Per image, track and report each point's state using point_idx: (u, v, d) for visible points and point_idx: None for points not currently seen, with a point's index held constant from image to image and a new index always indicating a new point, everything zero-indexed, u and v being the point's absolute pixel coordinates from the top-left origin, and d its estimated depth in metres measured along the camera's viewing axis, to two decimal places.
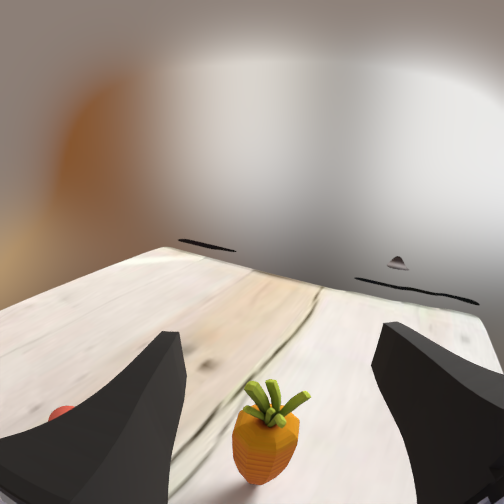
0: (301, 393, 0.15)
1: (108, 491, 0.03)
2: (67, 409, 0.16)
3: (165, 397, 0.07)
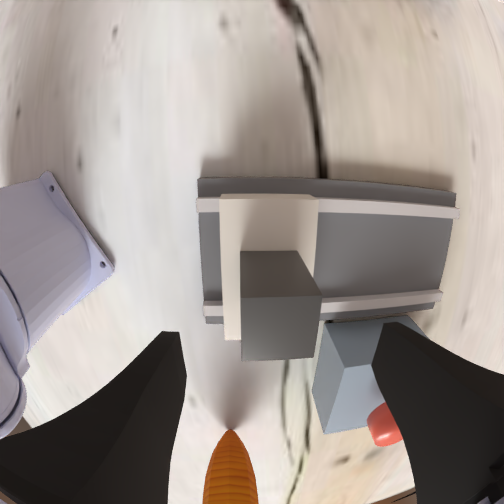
0: None
1: (108, 491, 0.03)
2: None
3: (165, 397, 0.07)
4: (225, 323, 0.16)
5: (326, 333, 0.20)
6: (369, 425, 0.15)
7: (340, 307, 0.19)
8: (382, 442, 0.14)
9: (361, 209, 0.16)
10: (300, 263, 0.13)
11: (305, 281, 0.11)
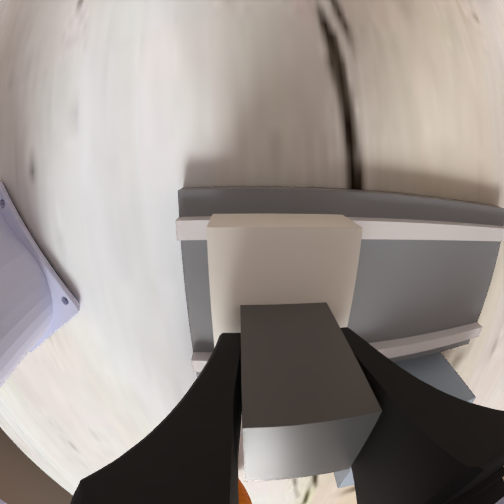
0: None
1: None
2: None
3: (238, 400, 0.07)
4: None
5: None
6: None
7: None
8: None
9: (407, 234, 0.11)
10: (335, 332, 0.08)
11: (350, 377, 0.06)
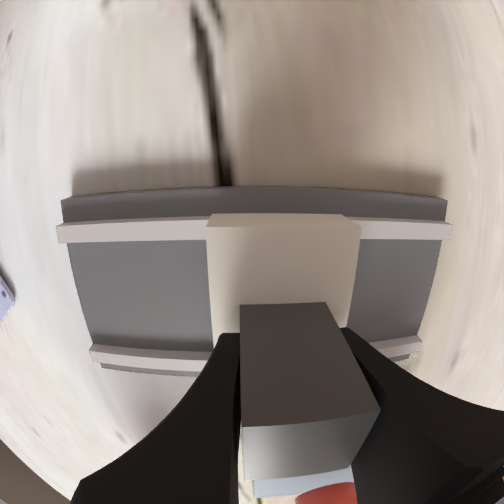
0: None
1: None
2: None
3: (238, 400, 0.07)
4: None
5: None
6: None
7: None
8: None
9: None
10: (334, 332, 0.08)
11: (349, 376, 0.06)
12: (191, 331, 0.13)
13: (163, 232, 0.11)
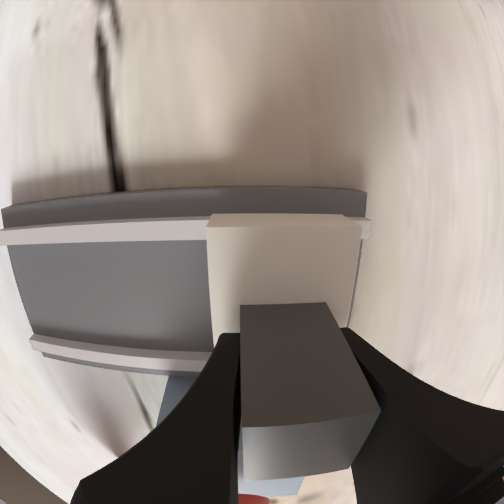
0: None
1: None
2: None
3: (238, 400, 0.07)
4: None
5: None
6: None
7: (162, 365, 0.13)
8: None
9: (153, 234, 0.11)
10: (335, 332, 0.08)
11: (349, 377, 0.06)
12: (102, 326, 0.13)
13: (64, 236, 0.11)
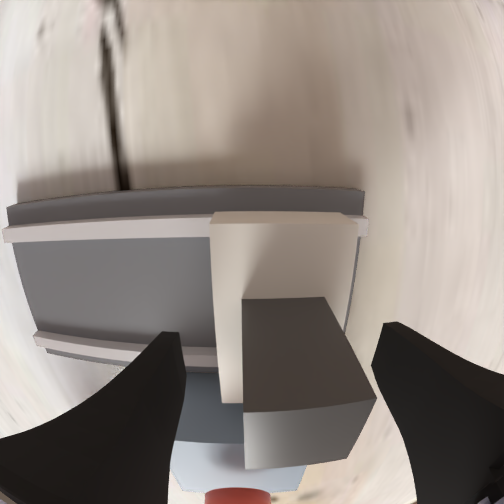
0: None
1: (108, 491, 0.03)
2: None
3: (165, 397, 0.07)
4: (222, 385, 0.11)
5: None
6: None
7: None
8: None
9: (157, 231, 0.11)
10: (332, 325, 0.08)
11: (346, 366, 0.06)
12: (106, 322, 0.13)
13: (70, 233, 0.11)
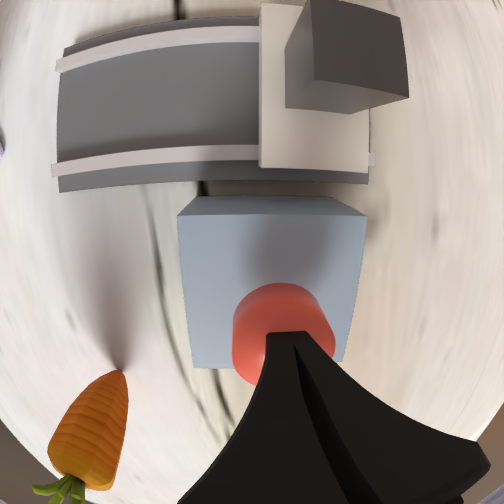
0: None
1: None
2: None
3: None
4: (263, 139, 0.11)
5: None
6: None
7: (197, 154, 0.14)
8: (255, 375, 0.09)
9: (212, 34, 0.11)
10: None
11: None
12: (140, 128, 0.14)
13: (131, 44, 0.11)
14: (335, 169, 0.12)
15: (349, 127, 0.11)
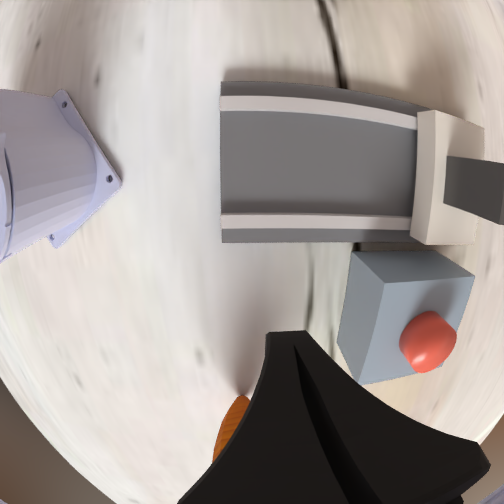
0: None
1: None
2: (444, 356, 0.14)
3: None
4: (429, 225, 0.15)
5: (355, 260, 0.19)
6: (403, 345, 0.15)
7: (370, 223, 0.17)
8: (419, 365, 0.14)
9: (384, 118, 0.15)
10: None
11: None
12: (320, 192, 0.17)
13: (315, 106, 0.14)
14: (459, 244, 0.15)
15: (470, 215, 0.14)
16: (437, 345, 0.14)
